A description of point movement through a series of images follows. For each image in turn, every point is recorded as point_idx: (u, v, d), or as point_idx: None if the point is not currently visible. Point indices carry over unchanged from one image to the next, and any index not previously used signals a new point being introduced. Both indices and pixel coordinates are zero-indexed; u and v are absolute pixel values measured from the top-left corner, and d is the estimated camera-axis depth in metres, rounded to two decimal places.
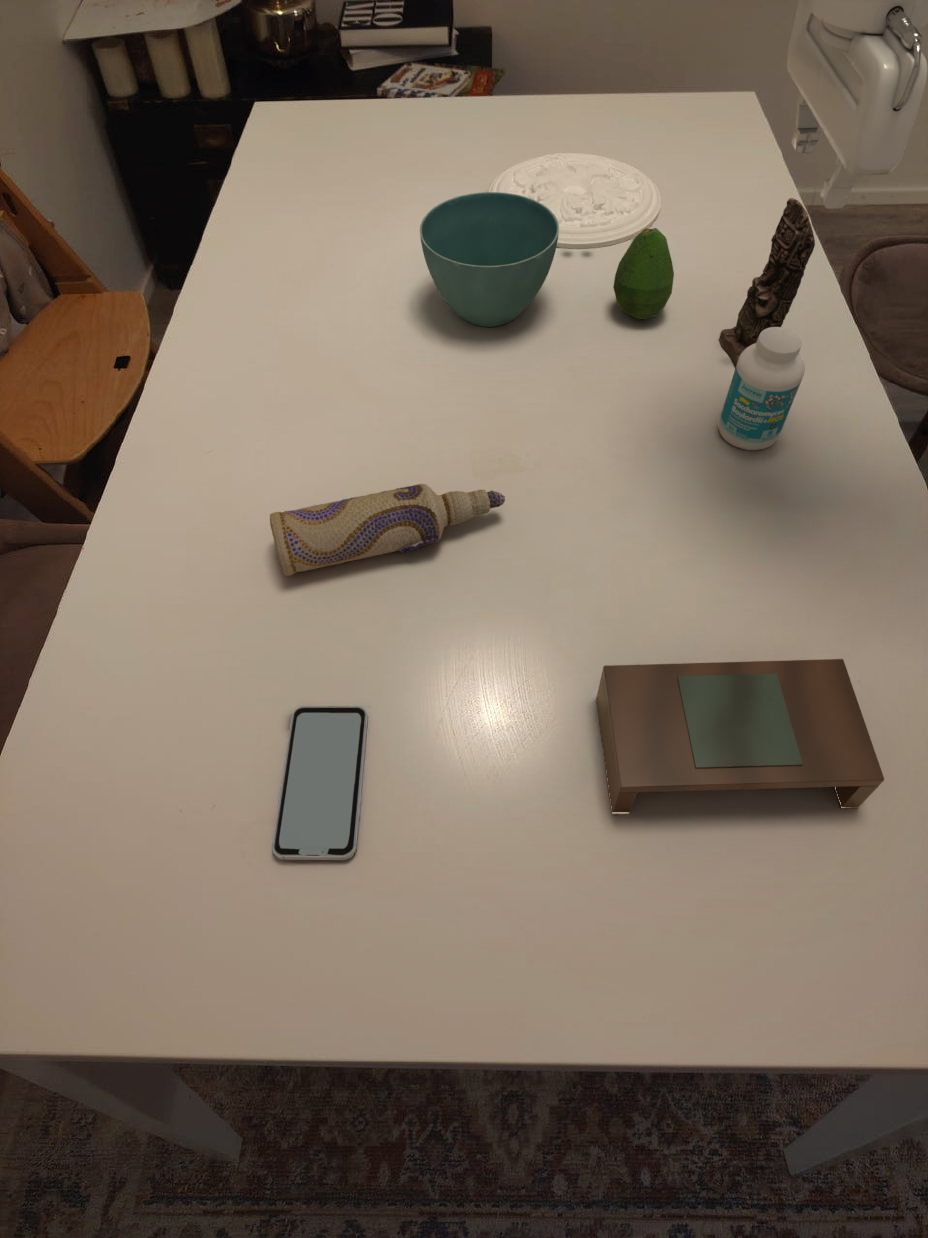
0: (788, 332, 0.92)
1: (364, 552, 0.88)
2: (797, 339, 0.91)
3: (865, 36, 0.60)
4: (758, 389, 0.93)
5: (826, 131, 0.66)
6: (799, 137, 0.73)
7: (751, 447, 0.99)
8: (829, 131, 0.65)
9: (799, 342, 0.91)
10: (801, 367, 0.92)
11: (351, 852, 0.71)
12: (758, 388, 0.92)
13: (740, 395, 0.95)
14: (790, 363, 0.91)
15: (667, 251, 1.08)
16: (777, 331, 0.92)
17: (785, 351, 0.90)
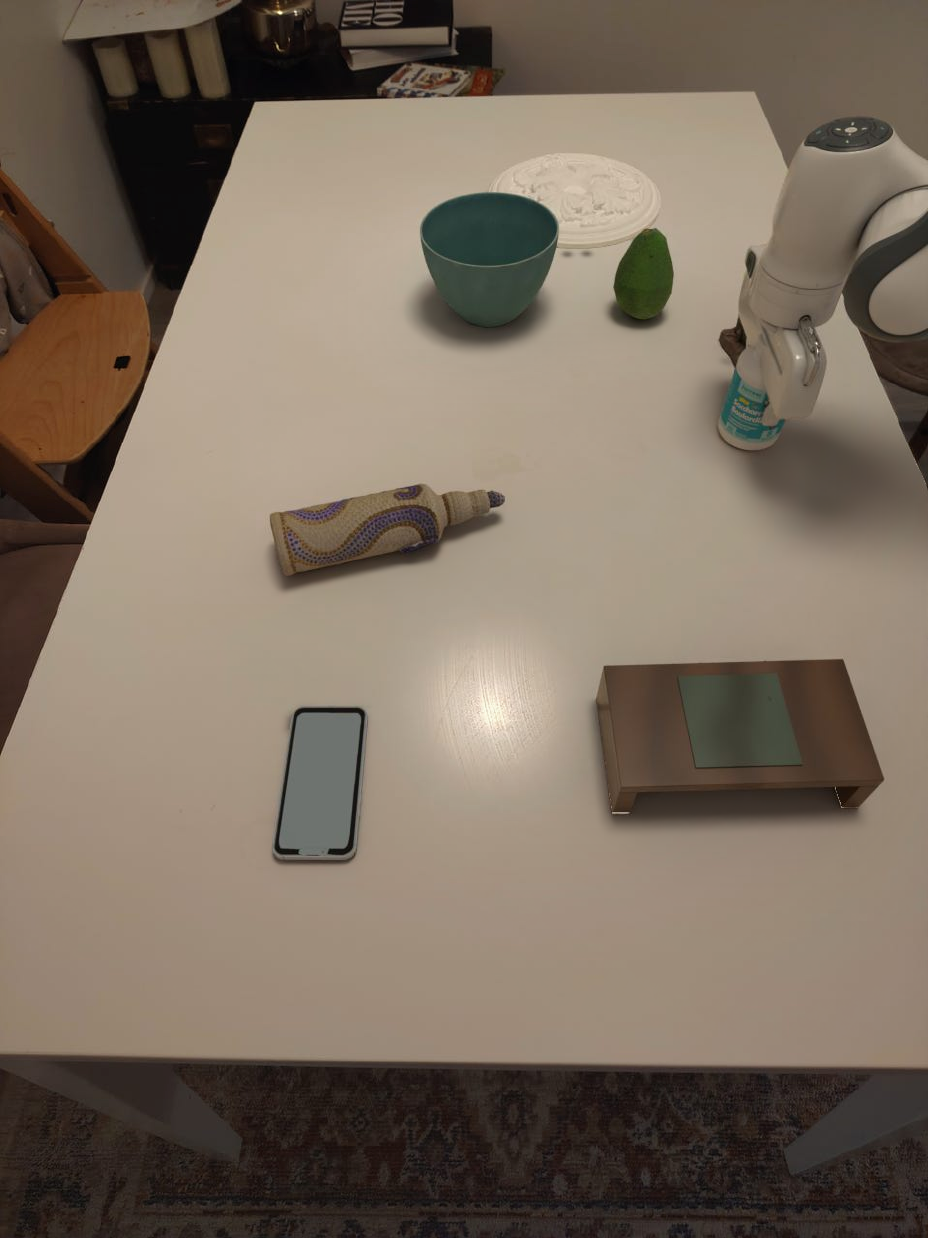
0: None
1: (364, 552, 0.88)
2: None
3: (785, 330, 0.85)
4: (758, 390, 0.93)
5: (763, 379, 0.91)
6: None
7: (750, 447, 0.99)
8: (764, 381, 0.91)
9: None
10: None
11: (351, 852, 0.71)
12: (758, 389, 0.92)
13: (740, 396, 0.95)
14: None
15: (667, 251, 1.08)
16: None
17: None
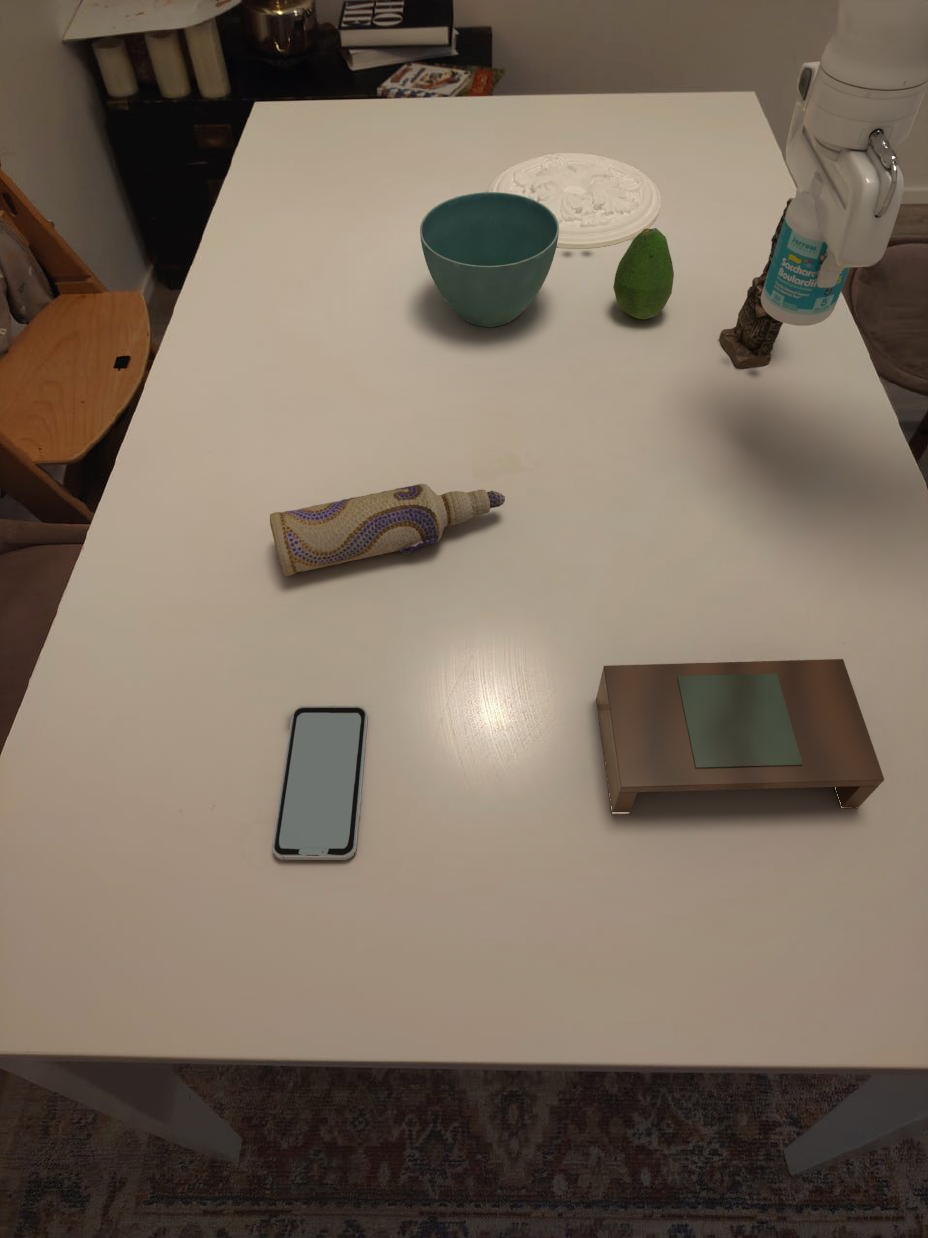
0: None
1: (364, 552, 0.88)
2: None
3: (851, 152, 0.69)
4: (812, 241, 0.77)
5: (819, 226, 0.75)
6: None
7: (801, 321, 0.83)
8: (822, 226, 0.75)
9: None
10: None
11: (351, 852, 0.71)
12: (813, 240, 0.77)
13: (790, 252, 0.79)
14: None
15: (667, 251, 1.08)
16: None
17: None
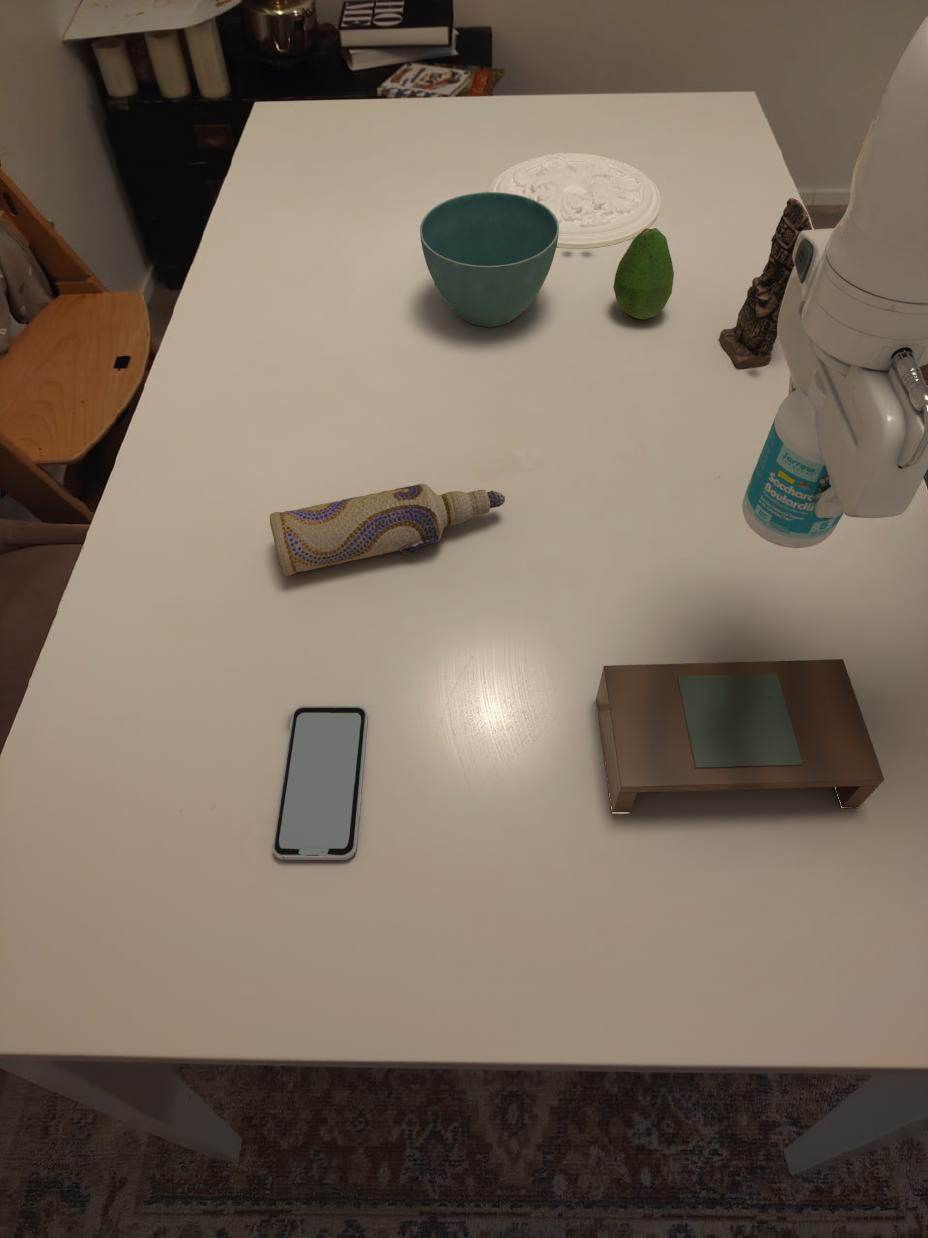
0: None
1: (364, 552, 0.88)
2: None
3: (866, 373, 0.50)
4: (810, 462, 0.58)
5: (820, 448, 0.56)
6: None
7: (793, 545, 0.64)
8: (823, 451, 0.56)
9: None
10: None
11: (351, 852, 0.71)
12: (811, 461, 0.57)
13: (780, 469, 0.60)
14: None
15: (667, 251, 1.08)
16: None
17: None
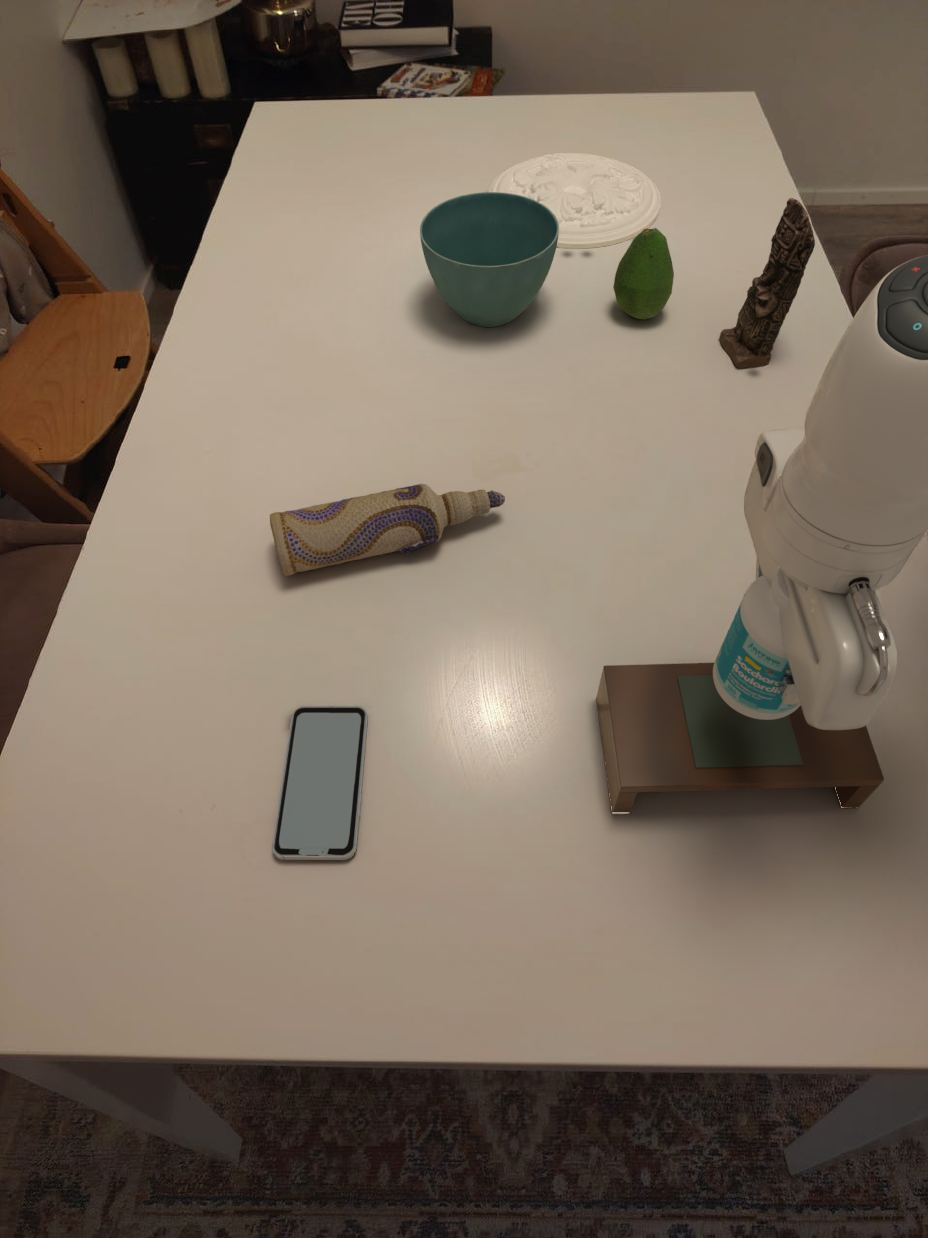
0: None
1: (364, 552, 0.88)
2: None
3: (824, 595, 0.50)
4: (775, 656, 0.58)
5: (784, 646, 0.56)
6: None
7: (763, 718, 0.64)
8: (787, 651, 0.56)
9: None
10: None
11: (351, 852, 0.71)
12: (776, 655, 0.58)
13: (747, 655, 0.60)
14: None
15: (667, 251, 1.08)
16: None
17: None
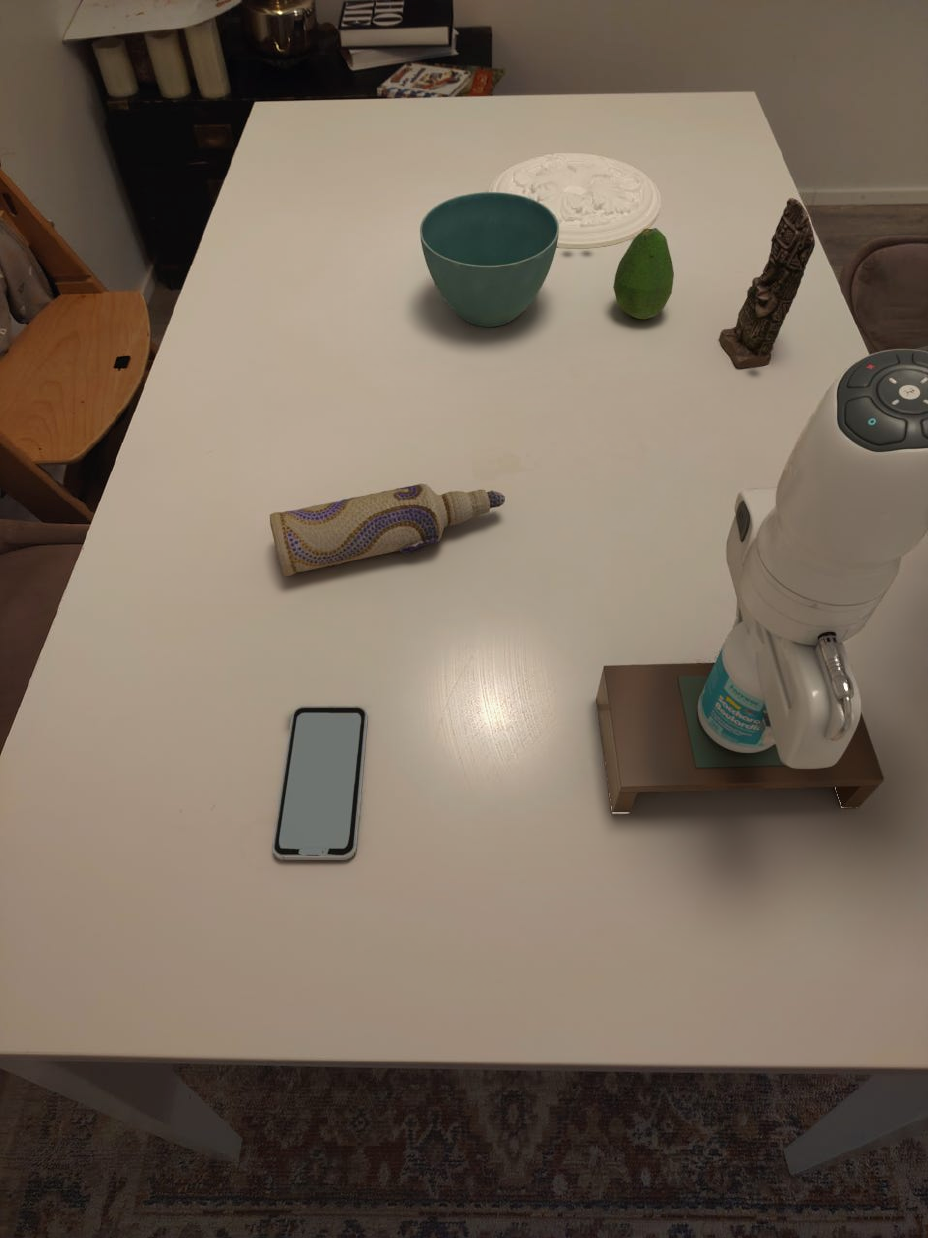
0: None
1: (364, 552, 0.88)
2: None
3: (796, 647, 0.55)
4: (753, 697, 0.63)
5: (761, 689, 0.61)
6: None
7: (743, 751, 0.69)
8: (764, 694, 0.60)
9: None
10: None
11: (351, 852, 0.71)
12: (754, 697, 0.62)
13: (728, 696, 0.65)
14: None
15: (667, 251, 1.08)
16: None
17: None
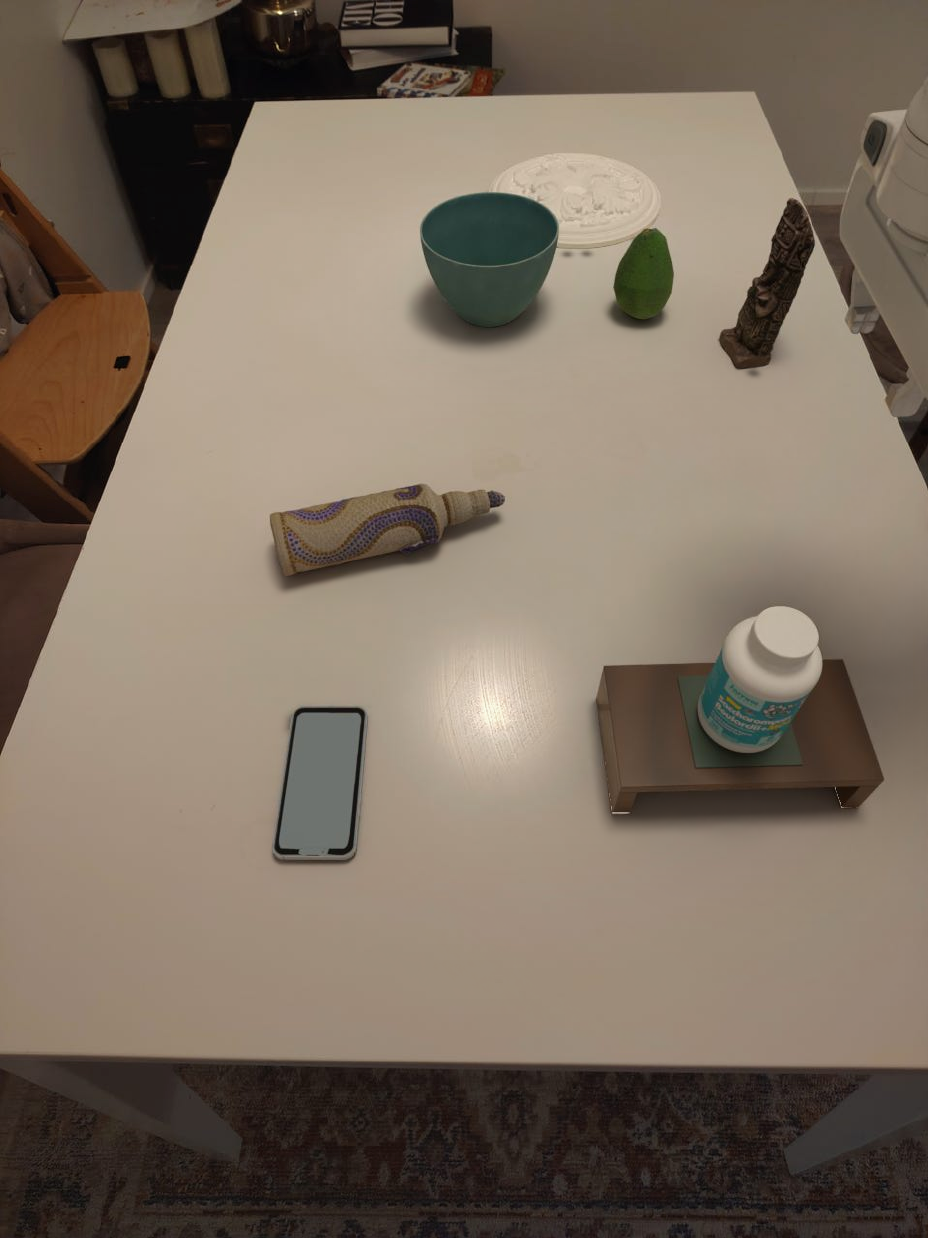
0: (798, 618, 0.62)
1: (364, 552, 0.88)
2: (811, 631, 0.61)
3: None
4: (753, 697, 0.63)
5: (896, 337, 0.55)
6: (855, 318, 0.62)
7: (743, 751, 0.69)
8: (900, 339, 0.54)
9: (815, 637, 0.61)
10: (817, 667, 0.62)
11: (351, 852, 0.71)
12: (754, 697, 0.62)
13: (728, 695, 0.65)
14: (801, 664, 0.61)
15: (667, 251, 1.08)
16: (781, 614, 0.62)
17: (794, 654, 0.60)
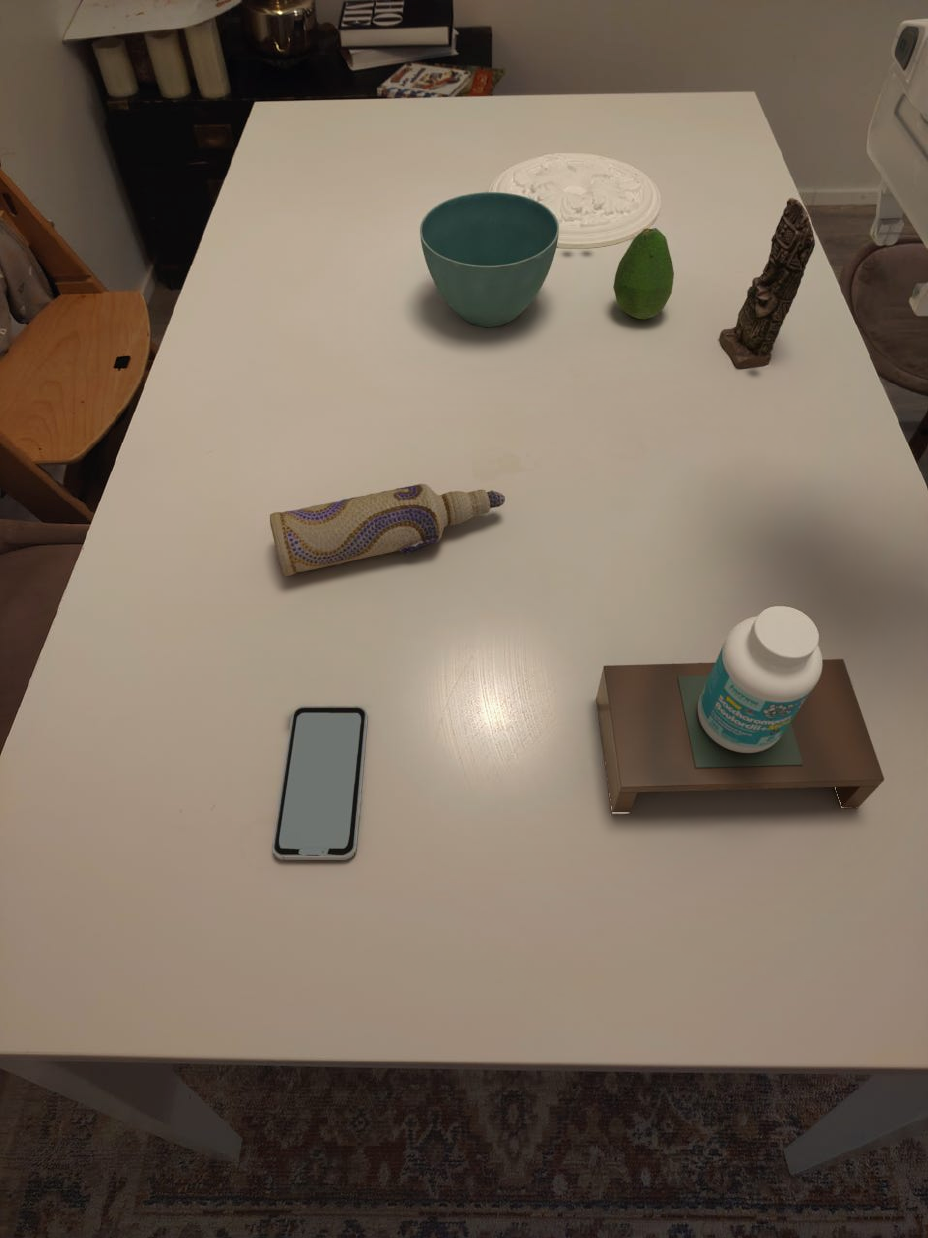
0: (798, 618, 0.62)
1: (364, 552, 0.88)
2: (812, 631, 0.61)
3: None
4: (753, 697, 0.63)
5: (922, 234, 0.58)
6: (880, 229, 0.65)
7: (743, 751, 0.69)
8: (926, 235, 0.57)
9: (815, 637, 0.61)
10: (818, 667, 0.62)
11: (351, 852, 0.71)
12: (754, 696, 0.62)
13: (728, 695, 0.65)
14: (801, 664, 0.61)
15: (667, 251, 1.08)
16: (781, 614, 0.62)
17: (794, 654, 0.60)
